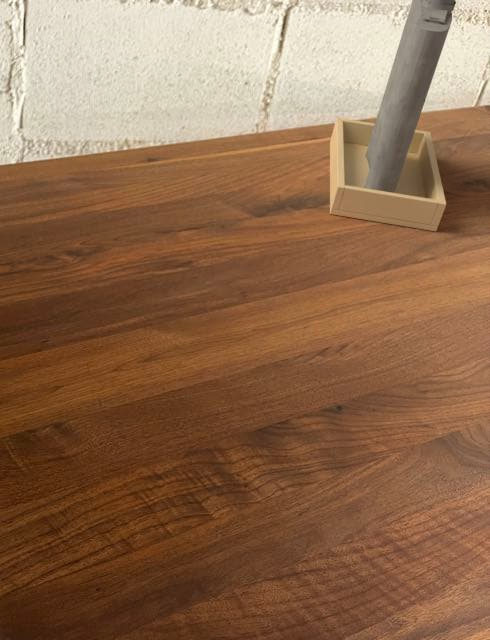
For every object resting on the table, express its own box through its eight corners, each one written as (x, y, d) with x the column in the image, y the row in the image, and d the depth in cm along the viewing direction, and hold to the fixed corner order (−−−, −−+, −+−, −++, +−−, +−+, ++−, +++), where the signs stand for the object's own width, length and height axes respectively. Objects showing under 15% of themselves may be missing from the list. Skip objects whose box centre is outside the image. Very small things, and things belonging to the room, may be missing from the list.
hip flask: (365, 150, 110) (422, -37, 96) (398, 156, 109) (460, -31, 95) (360, 201, 99) (423, -2, 85) (397, 208, 98) (466, 5, 84)
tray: (421, 157, 112) (430, 131, 109) (436, 231, 96) (446, 204, 94) (329, 142, 113) (336, 117, 110) (329, 214, 97) (337, 186, 95)
